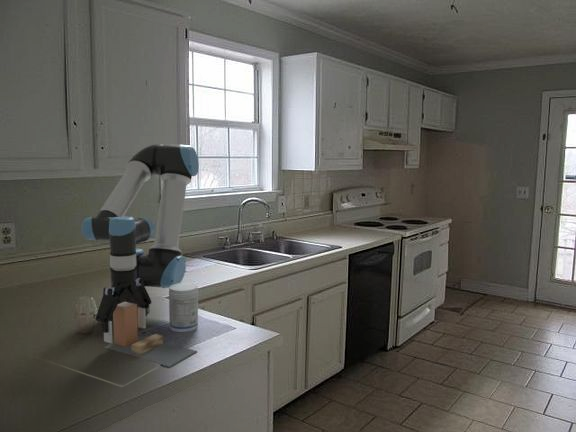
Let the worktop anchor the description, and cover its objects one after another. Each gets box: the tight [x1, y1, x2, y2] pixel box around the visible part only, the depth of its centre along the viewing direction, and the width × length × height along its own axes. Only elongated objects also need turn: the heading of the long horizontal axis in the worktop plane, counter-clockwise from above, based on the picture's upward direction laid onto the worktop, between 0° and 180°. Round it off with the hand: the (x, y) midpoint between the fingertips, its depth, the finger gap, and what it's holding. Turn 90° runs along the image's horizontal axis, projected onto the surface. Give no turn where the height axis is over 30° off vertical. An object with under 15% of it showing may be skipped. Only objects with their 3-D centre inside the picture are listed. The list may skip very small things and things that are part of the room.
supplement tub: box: [168, 282, 199, 333], centre depth 162 cm, size 10×10×15 cm
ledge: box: [131, 333, 164, 355], centre depth 145 cm, size 10×3×3 cm, turn 152°
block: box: [112, 302, 139, 347], centre depth 149 cm, size 5×5×12 cm
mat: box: [104, 334, 198, 369], centre depth 145 cm, size 12×26×1 cm, turn 62°
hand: (125, 334), depth 149 cm, fingers open, 13 cm apart
